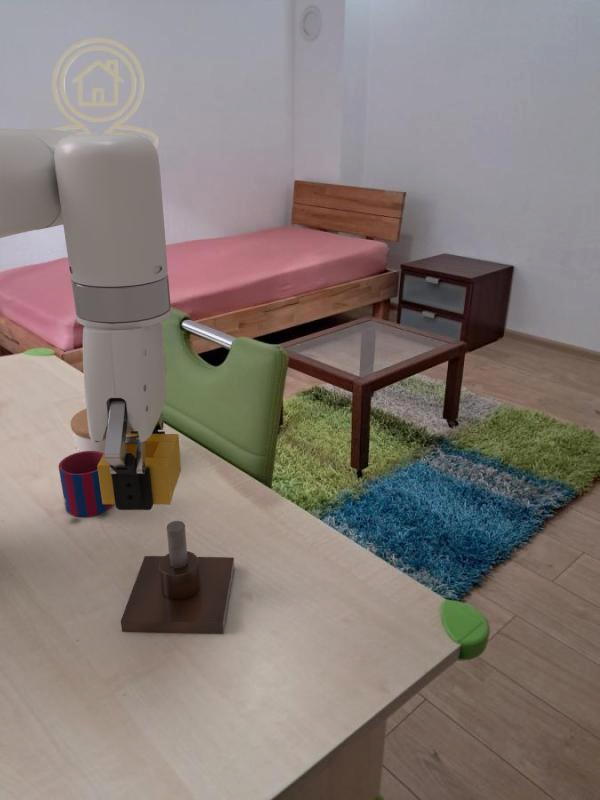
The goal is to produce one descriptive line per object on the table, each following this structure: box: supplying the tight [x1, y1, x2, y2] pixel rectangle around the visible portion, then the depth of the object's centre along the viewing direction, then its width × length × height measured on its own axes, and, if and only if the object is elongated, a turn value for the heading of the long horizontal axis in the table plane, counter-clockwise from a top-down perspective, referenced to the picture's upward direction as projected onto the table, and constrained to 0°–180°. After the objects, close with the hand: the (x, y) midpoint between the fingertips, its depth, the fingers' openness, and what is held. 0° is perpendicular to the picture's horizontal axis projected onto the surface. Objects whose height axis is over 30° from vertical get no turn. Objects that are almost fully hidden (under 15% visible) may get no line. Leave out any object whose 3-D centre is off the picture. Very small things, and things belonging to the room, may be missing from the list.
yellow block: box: [97, 433, 182, 506], centre depth 58 cm, size 6×6×4 cm
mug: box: [58, 451, 114, 518], centre depth 89 cm, size 7×10×7 cm
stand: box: [120, 520, 235, 634], centre depth 71 cm, size 11×11×10 cm
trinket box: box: [70, 408, 134, 453], centre depth 100 cm, size 11×11×9 cm
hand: (143, 485), depth 59 cm, fingers closed on yellow block, 6 cm apart
